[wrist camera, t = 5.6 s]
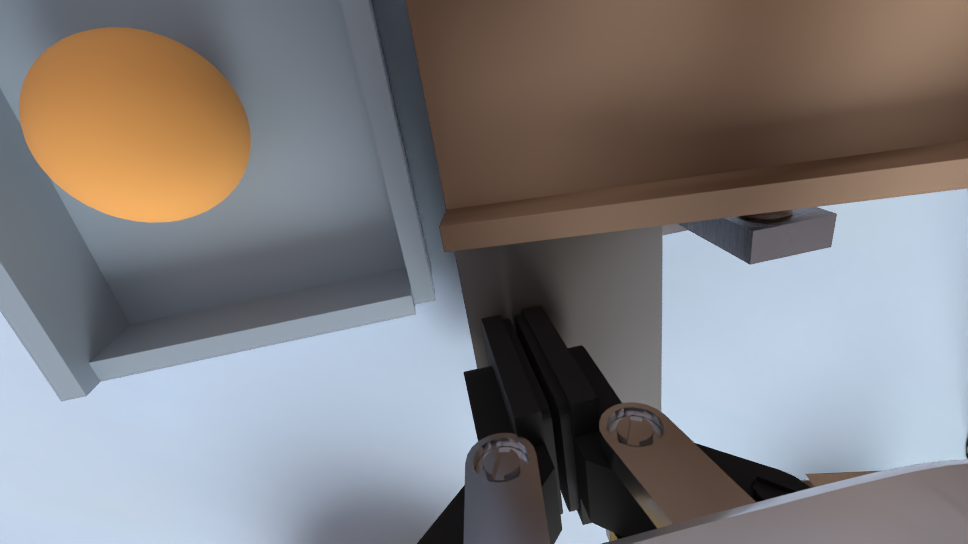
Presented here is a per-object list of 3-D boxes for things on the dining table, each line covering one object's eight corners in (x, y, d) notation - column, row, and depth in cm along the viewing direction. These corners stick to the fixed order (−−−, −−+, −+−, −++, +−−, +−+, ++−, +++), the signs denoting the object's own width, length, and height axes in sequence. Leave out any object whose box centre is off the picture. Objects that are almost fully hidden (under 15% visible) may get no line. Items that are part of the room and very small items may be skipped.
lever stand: (748, -238, 11) (1019, -480, 6) (721, 213, 16) (862, 276, 11) (591, -219, 11) (747, -458, 6) (611, 235, 16) (706, 311, 11)
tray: (329, -187, 11) (301, -284, 8) (432, 272, 15) (438, 320, 12) (-131, -131, 10) (-355, -215, 7) (129, 335, 15) (61, 401, 12)
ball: (5, 10, 7) (249, 7, 10) (-56, 51, 9) (159, 38, 12) (131, 259, 8) (308, 192, 11) (54, 243, 11) (220, 191, 14)
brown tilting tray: (1158, -241, 9) (1686, -479, 5) (961, 354, 15) (1131, 469, 11) (409, -84, 11) (347, -167, 7) (495, 394, 17) (490, 506, 12)
